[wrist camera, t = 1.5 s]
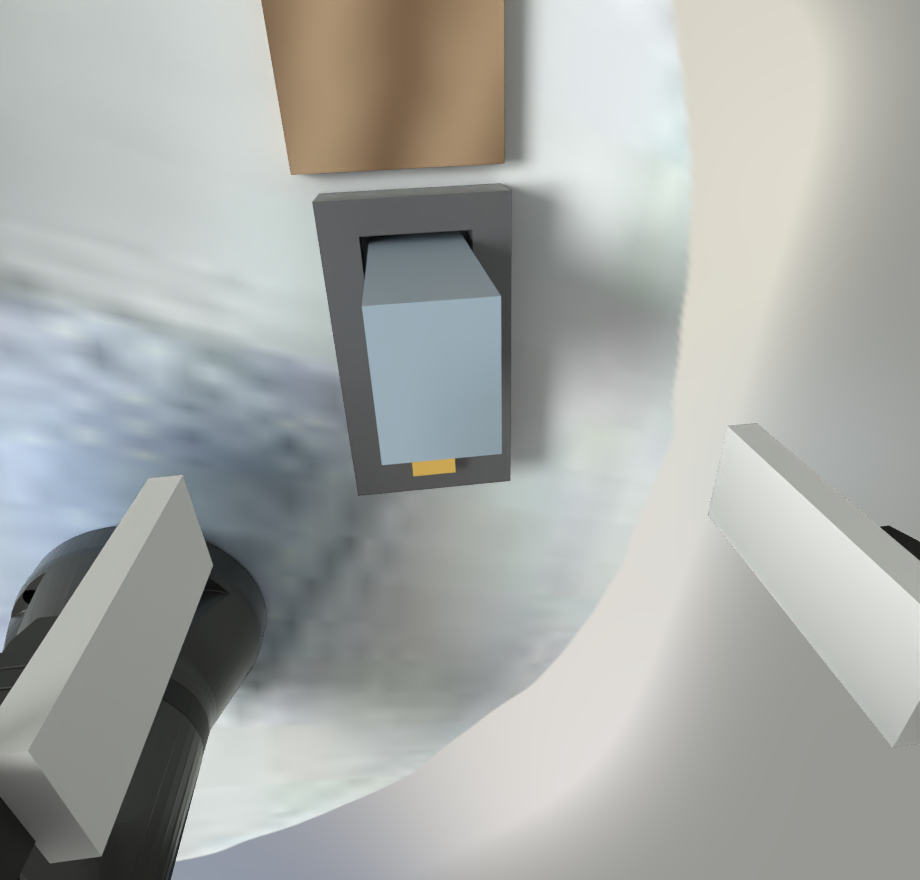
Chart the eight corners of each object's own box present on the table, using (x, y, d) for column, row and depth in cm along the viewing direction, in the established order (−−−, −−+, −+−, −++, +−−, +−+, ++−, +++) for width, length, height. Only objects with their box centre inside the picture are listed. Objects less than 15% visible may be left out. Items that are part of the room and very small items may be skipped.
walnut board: (294, 172, 28) (291, 174, 27) (247, -107, 23) (241, -118, 22) (500, 161, 28) (504, 163, 27) (498, -111, 23) (503, -121, 22)
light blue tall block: (382, 349, 32) (381, 465, 21) (369, 236, 29) (361, 306, 18) (463, 343, 32) (501, 453, 22) (459, 230, 29) (500, 295, 19)
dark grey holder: (360, 468, 36) (357, 503, 33) (318, 193, 28) (310, 204, 25) (501, 454, 37) (512, 488, 34) (499, 183, 29) (514, 192, 26)
